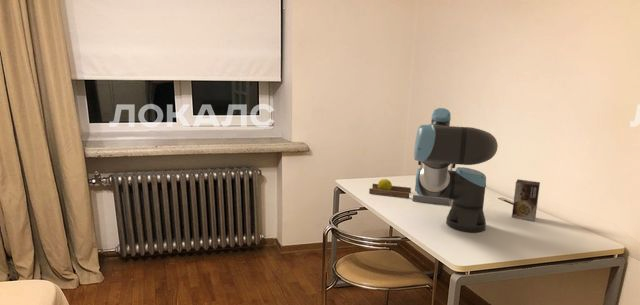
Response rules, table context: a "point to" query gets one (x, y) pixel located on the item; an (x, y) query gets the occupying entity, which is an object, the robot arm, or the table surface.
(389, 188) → the tennis ball
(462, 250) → the table surface
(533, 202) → the coffee box
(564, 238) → the table surface
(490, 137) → the robot arm
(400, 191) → the chute
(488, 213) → the table surface
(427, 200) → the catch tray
